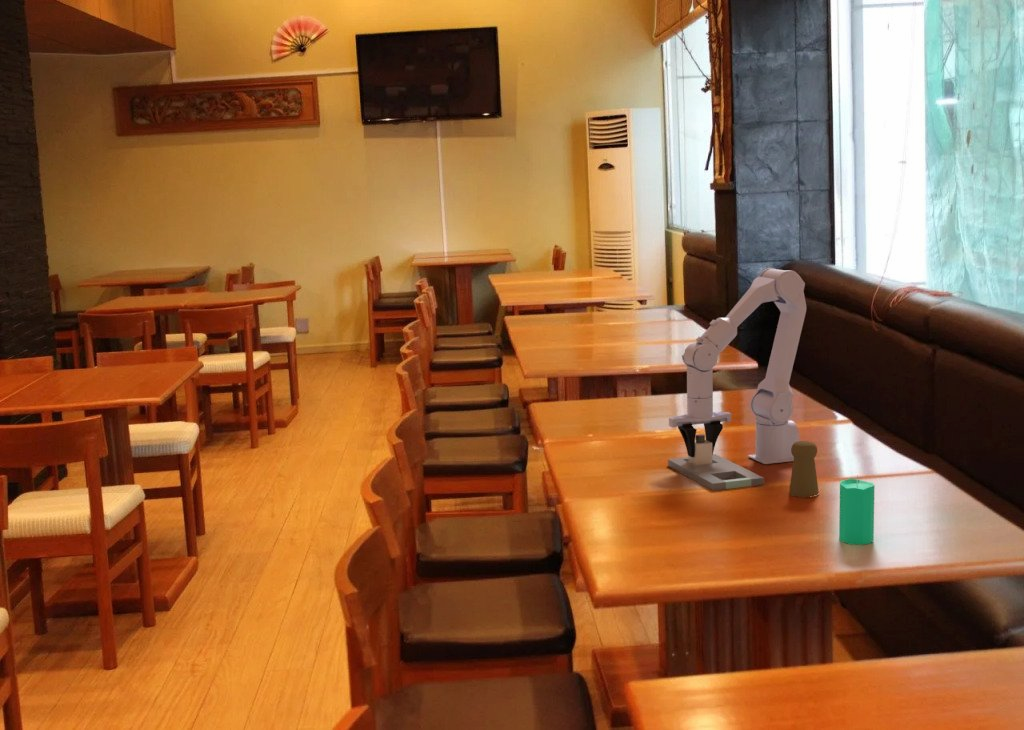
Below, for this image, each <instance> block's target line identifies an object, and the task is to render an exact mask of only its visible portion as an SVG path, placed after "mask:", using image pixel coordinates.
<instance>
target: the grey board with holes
mask: <svg viewBox="0 0 1024 730" xmlns="http://www.w3.org/2000/svg"><path fill="white" fill-rule="evenodd" d="M667 465H668V466H667V467H670V468H672V469H673V470H675V471H677V472H679V473H681V474H682V475H685V476H686V477H688V478H689V479H691V480H693V481H695V482H697V483H698V484H701V485H702V486H703V487H706V488H707V489H709V490H711V491H721V490H727V489H728V490H730V489H735V488H736V489H738V488H745V487H746V488H747V487H755V486H763V485H765V477H763V476H762V475H760V474H757V473H755V472H753V471H751V470H749V469H747V468H745V467H743V466H741V465H738V464H737V463H735V462H733V461H730V460H728V459H726V458H724V457H723V456H720V455H718V454H716V453H713V455H712V464H703V465H692V464H690V463H689V456H686V457H678V458H677V457H676V458H667Z"/></svg>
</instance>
